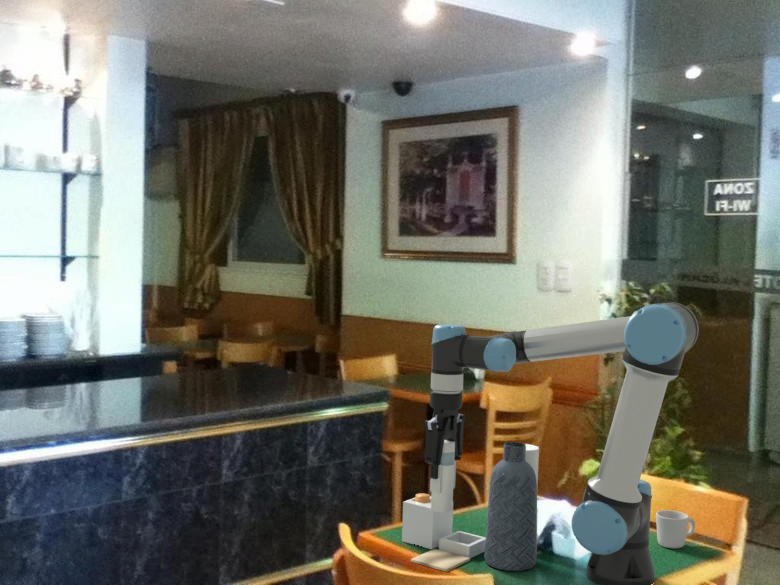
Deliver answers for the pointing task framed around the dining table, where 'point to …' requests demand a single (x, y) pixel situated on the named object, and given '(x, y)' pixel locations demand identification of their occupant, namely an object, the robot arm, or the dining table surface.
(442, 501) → the cylinder
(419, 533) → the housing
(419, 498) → the brown egg
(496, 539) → the vase
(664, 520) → the cup
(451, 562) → the coaster
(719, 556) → the dining table surface
